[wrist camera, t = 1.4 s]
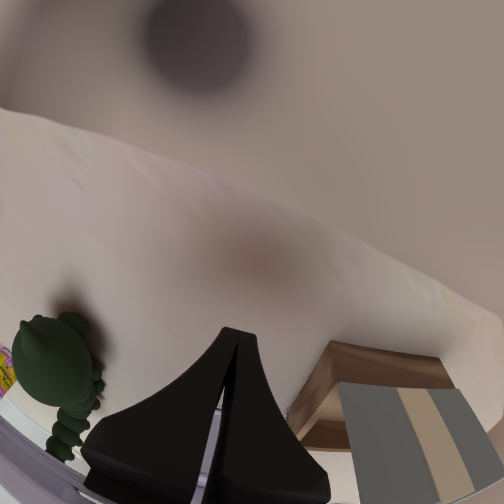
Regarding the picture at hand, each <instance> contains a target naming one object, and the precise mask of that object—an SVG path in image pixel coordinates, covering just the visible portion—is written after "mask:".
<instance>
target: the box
mask: <svg viewBox="0 0 504 504" xmlns="http://www.w3.org/2000/svg"><path fill="white" fill-rule="evenodd" d="M340 381H342V382H350V383H358V384H367V385H377V386H388V387H402V388H423V389H455V386H454V384H453V382H452V381H451V379H450V377H449V375H448V373H447V371H446V370H445V368H444V366H443V364H442V362H441V361H440V359H439V358H435V357H426V356H419V355H411V354H404V353H397V352H391V351H384V350H378V349H372V348H367V347H361V346H356V345H350V344H345V343H340V342H335V341H330V342H329V344H328V346H327V348H326V349H325V351H324V353H323V355H322V357H321V358H320V360H319V362H318V364H317V365H316V367H315V369H314V371H313V372H312V374H311V376H310V377H309V379H308V381H307V382H306V384H305V386H304V387H303V389H302V390H301V392H300V394H299V395H298V397H297V398H296V400H295V401H294V403H293V405H292V406H291V408H290V409H289V411H288V412H287V417H286V422H287V424H288V425H289V427H290V428H291V430H292V431H293V433H294V434H295V436H296V437H297V439H298V440H299V441H300V443H301V444H302V445H303V447H304V448H305V449H306V450H311V451H327V452H351V448H350V443H349V438H348V433H347V429H346V424H345V419H344V415H343V410H342V406H341V402H340V397H339V393H338V389H337V386H338V384H339V383H340Z"/></svg>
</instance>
